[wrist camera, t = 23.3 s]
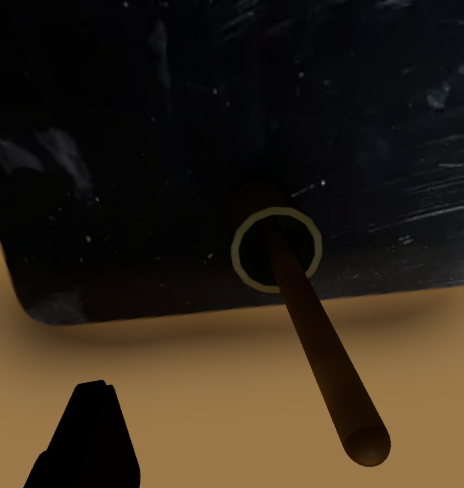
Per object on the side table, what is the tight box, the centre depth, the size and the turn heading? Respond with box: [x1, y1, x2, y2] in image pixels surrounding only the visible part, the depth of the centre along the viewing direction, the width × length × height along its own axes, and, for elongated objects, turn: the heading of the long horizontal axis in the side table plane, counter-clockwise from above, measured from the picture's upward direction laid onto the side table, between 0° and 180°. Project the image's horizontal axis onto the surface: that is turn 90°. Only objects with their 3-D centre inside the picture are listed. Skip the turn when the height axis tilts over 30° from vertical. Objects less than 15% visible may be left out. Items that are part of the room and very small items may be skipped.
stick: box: [253, 215, 391, 467], centre depth 17 cm, size 1×1×16 cm
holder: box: [225, 180, 323, 293], centre depth 21 cm, size 4×4×7 cm
